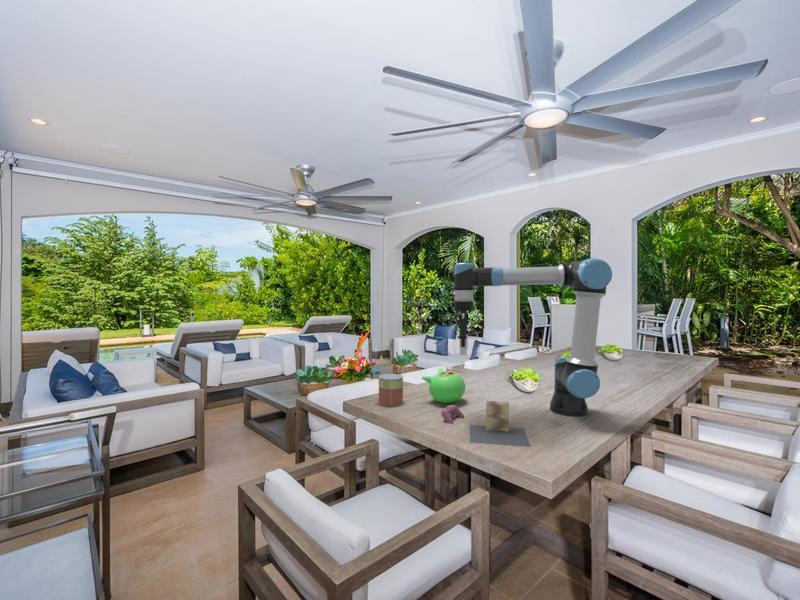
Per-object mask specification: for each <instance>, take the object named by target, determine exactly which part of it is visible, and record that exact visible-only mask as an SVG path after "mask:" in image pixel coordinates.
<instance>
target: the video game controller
mask: <svg viewBox="0 0 800 600" xmlns="http://www.w3.org/2000/svg"><path fill="white" fill-rule="evenodd" d="M440 414H441V417H442V418H443V419H444V421H445V422H447V423H448V424H451V425H454V420H455V419H457V418H460V419H464V418H465V414H464V413H463V412H462V411H461V410H460V409H459V407H458V406H456V404H455V405H454V404H450V405H447V406H445V407H443V409H442V410H441V412H440ZM453 419H454V420H453Z"/></svg>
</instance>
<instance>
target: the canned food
mask: <svg viewBox="0 0 800 600" xmlns="http://www.w3.org/2000/svg"><path fill="white" fill-rule="evenodd" d="M403 404H404V375H402V374H398V373H384V374H380V375H379V376H378V405H381V406H385V407H397V406H401V405H403Z"/></svg>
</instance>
